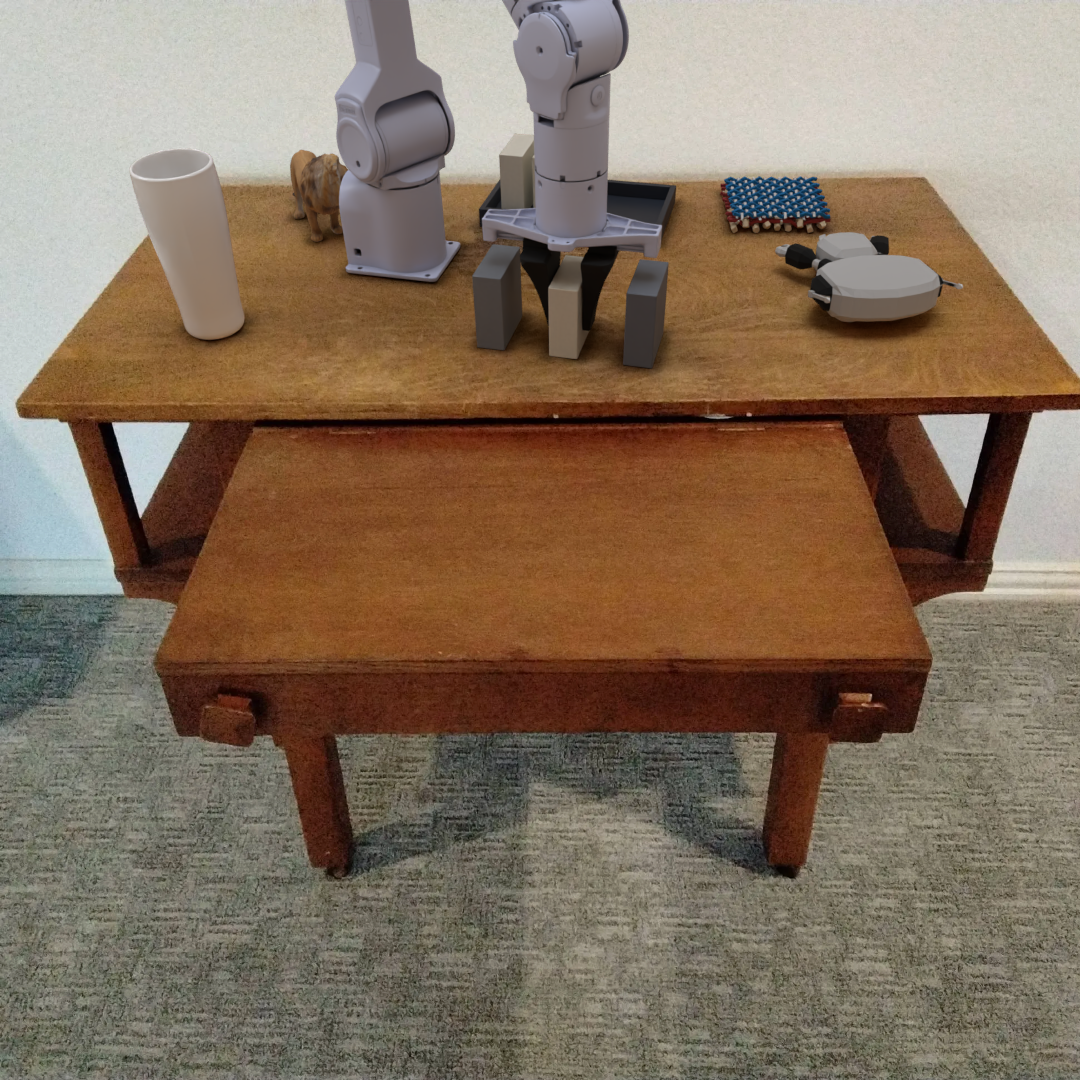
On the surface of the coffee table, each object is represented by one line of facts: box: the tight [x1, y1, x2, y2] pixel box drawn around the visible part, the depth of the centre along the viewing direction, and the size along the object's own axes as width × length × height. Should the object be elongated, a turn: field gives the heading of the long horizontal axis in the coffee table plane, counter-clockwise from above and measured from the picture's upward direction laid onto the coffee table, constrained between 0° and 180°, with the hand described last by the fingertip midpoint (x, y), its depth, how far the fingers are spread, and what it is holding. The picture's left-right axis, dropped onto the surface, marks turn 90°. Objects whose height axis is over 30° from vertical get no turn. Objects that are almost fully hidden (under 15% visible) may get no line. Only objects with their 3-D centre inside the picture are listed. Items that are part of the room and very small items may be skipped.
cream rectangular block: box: [548, 254, 590, 360], centre depth 83 cm, size 2×6×6 cm, turn 165°
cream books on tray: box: [498, 132, 536, 209], centre depth 103 cm, size 6×6×6 cm
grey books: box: [471, 243, 669, 369], centre depth 83 cm, size 16×6×7 cm, turn 75°
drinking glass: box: [128, 147, 246, 341], centre depth 83 cm, size 7×7×15 cm
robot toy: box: [774, 231, 964, 323], centre depth 89 cm, size 12×4×15 cm
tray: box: [478, 179, 677, 241], centre depth 104 cm, size 19×10×2 cm, turn 75°
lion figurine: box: [289, 149, 348, 243], centre depth 101 cm, size 15×5×9 cm, turn 33°
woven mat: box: [719, 175, 832, 234], centre depth 103 cm, size 10×11×2 cm
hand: (570, 322), depth 84 cm, fingers closed on cream rectangular block, 2 cm apart
